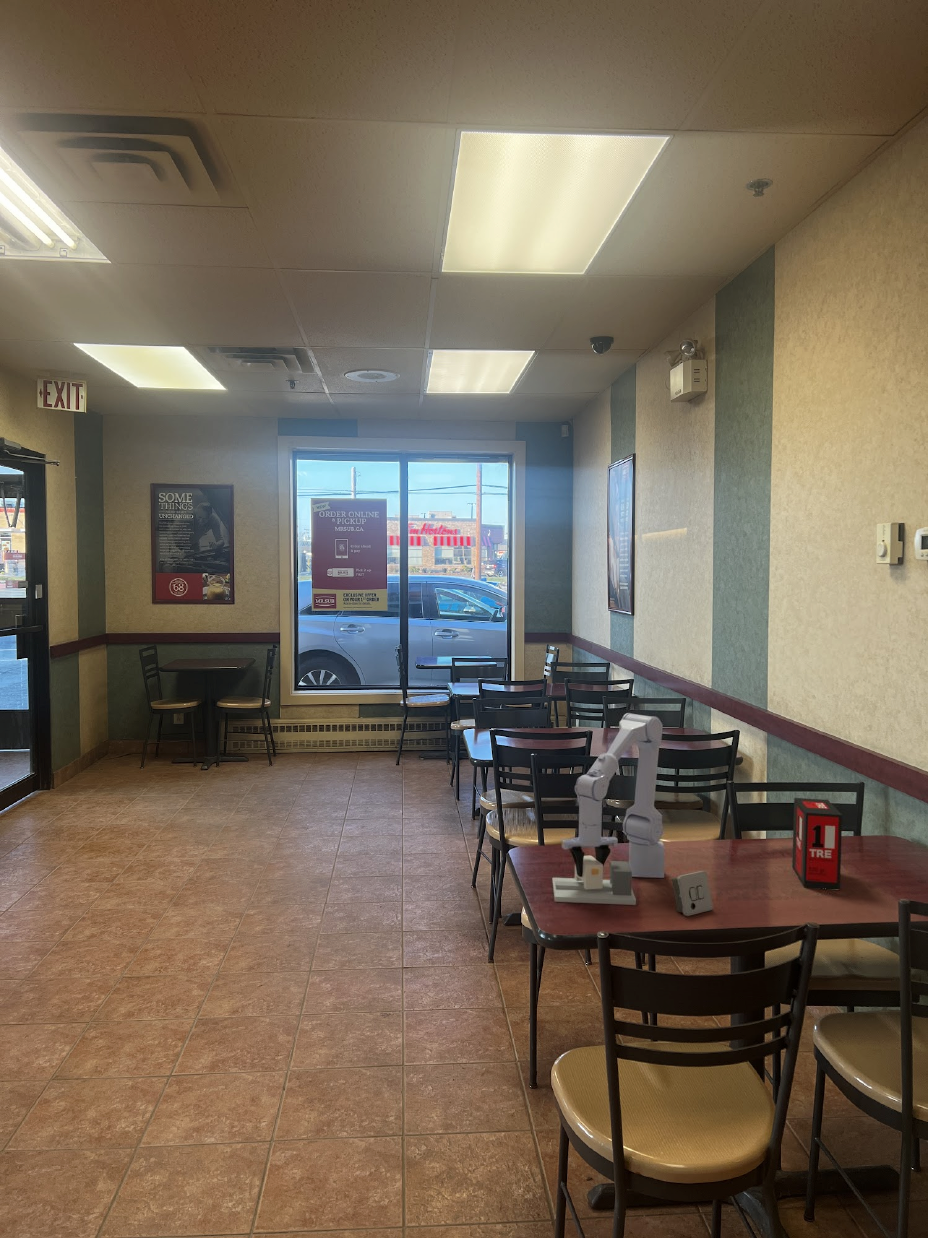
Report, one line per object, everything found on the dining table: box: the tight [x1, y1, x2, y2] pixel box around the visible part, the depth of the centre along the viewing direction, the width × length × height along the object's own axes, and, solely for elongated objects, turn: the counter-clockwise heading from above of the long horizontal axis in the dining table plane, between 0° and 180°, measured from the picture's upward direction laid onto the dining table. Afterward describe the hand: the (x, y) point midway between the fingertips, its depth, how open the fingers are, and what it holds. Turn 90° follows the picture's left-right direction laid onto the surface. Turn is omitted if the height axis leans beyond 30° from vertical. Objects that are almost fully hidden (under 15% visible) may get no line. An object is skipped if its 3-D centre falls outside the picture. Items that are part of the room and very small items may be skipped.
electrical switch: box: [671, 870, 714, 917], centre depth 201 cm, size 9×5×9 cm, turn 121°
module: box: [574, 855, 604, 889], centre depth 211 cm, size 4×9×6 cm, turn 13°
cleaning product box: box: [791, 797, 843, 890], centre depth 225 cm, size 16×9×20 cm, turn 168°
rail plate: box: [551, 860, 637, 906], centre depth 211 cm, size 20×14×7 cm
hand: (589, 875), depth 211 cm, fingers closed on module, 4 cm apart
